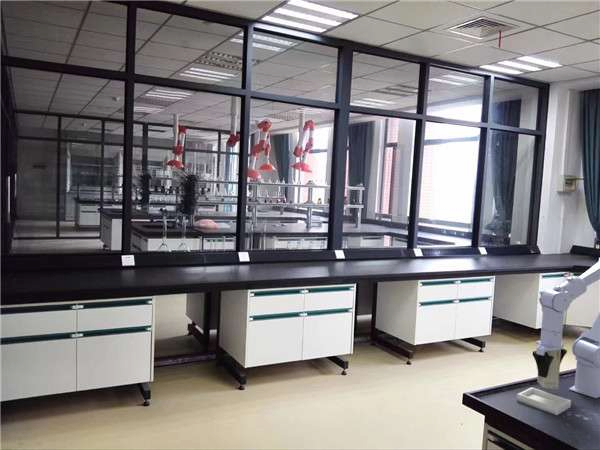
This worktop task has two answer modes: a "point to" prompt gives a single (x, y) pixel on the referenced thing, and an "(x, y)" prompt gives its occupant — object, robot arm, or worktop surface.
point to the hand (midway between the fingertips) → (548, 374)
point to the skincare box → (552, 372)
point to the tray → (544, 400)
